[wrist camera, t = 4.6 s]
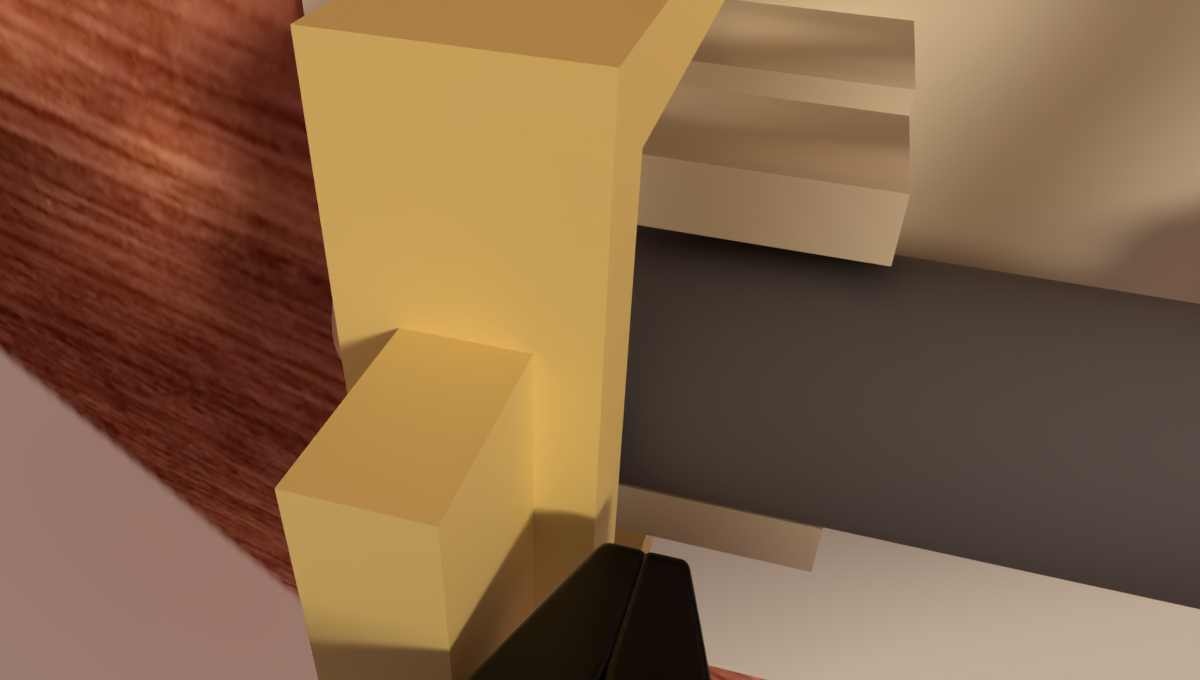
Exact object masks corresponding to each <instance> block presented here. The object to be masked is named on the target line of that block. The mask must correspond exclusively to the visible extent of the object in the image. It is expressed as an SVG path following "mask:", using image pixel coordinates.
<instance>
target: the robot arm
mask: <svg viewBox="0 0 1200 680" xmlns="http://www.w3.org/2000/svg"><path fill="white" fill-rule="evenodd" d="M467 680H711V677H710V672H709V666H708V661H707V656H706V650H705V645H704V640H703V634H702V629H701V624H700V618H699V613H698V608H697V602H696V597H695V592H694V586H693V581H692V576H691V571H690V567H689V565H688V563H687V562H686V561H685V560H683V559H679V558H675V557H671V556H666V555H662V554H657V553H653V552H648V553H646V554H645V553H644V552H643V551H641V550H640V549H635V548H631V547H627V546H622V545H618V544H613V543H604V544H601V545H600V546H599V547H597V548H596V549H595V550H594V551H593V552H592V553H591V554H590V555H589V556H588V557H587V558H586V559H585V560H584V561H583V562H582V563H581V564H580V565H579V566H578V567H577V568H576V569H575V570H574V571H573V572H572V573H571V574H570V575H569V576H568V577H567V578H566V579H565V580H564V581H563V583H562V584H561V585H560V586H559V587H558V588H557V589H556V590H555V591H554V592H553V593H552V594H551V595H550V596H549V597H548V598H547V599H546V600H545V601H544V602H543V603H542V604H541V605H540V606H539V607H538V608H537V609H536V610H535V611H534V612H533V613H532V614H531V615H530V616H529V617H528V618H527V619H526V620H525V621H524V622H523V623H522V624H521V625H520V626H519V627H518V628H517V629H516V630H515V631H514V632H513V633H512V634H511V635H510V636H509V637H508V638H507V639H506V640H505V641H504V642H503V643H502V644H501V645H500V646H499V647H498V648H497V649H496V650H495V651H494V652H493V653H492V654H491V655H490V656H489V657H488V658H487V659H486V660H485V661H484V662H483V663H482V664H481V665H480V666H479V667H478V668H477V669H476V670H475V671H474V672H473V674H472V675H471V676H470V677H469V678H468V679H467Z"/></svg>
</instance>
